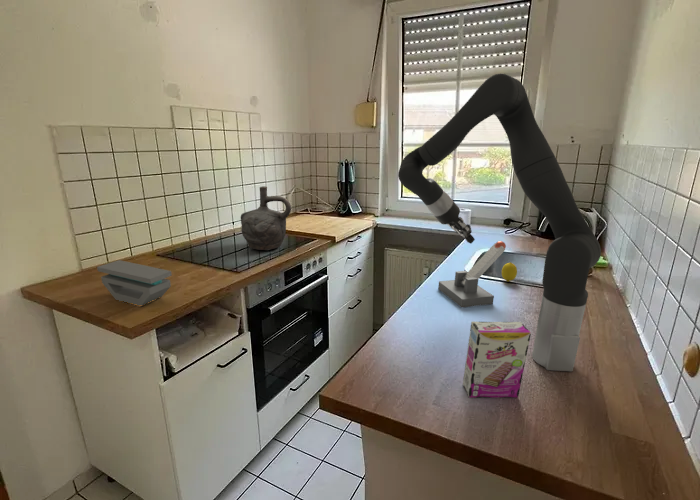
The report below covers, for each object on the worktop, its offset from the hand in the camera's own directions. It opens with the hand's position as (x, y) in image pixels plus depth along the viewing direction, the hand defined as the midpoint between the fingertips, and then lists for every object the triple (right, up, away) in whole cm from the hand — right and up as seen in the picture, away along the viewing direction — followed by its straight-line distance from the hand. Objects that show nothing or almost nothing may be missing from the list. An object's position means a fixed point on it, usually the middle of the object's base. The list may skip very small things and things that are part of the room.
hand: (471, 241), depth 126 cm
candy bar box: (-10, -35, -43) cm, 56 cm away
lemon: (+21, -16, +20) cm, 32 cm away
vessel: (-83, -2, +57) cm, 100 cm away
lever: (-1, -15, +4) cm, 16 cm away
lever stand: (-1, -19, +6) cm, 20 cm away
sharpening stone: (-113, -20, 0) cm, 115 cm away
